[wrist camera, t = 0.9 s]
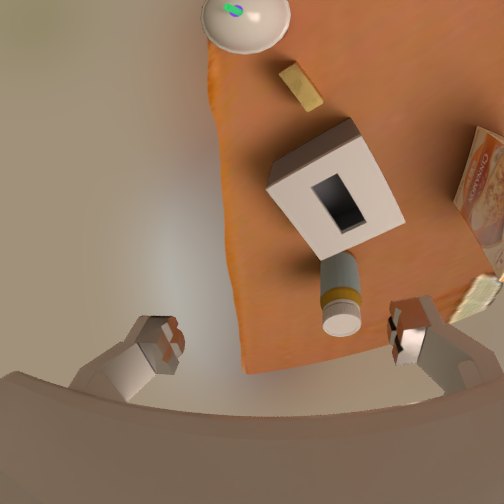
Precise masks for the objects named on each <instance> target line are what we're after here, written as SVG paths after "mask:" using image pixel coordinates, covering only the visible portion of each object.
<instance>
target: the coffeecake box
mask: <svg viewBox="0 0 504 504" xmlns="http://www.w3.org/2000/svg"><path fill="white" fill-rule="evenodd" d="M453 203H454V204H455V206H456V207H457V209H458V210H459V212H460V213H461V215H462V216H463V218H464V219H465V221H466V223H467V224H468V226H469V227H470V229H471V231H472V232H473V234H474V236H475V237H476V239H477V241H478V242H479V244H480V246H481V248H482V250H483V251H484V253H485V255H486V257H487V259H488V261H489V263H490V264H491V266H492V268H493V270H494V272H495V274H496V276H497V278H498V280H499V281H501V282H504V137H502V136H500V135H498V134H495V133H493V132H491V131H489V130H486V129H484V128H482V127H479V126H477V128H476V132H475V136H474V140H473V143H472V147H471V150H470V154H469V157H468V160H467V163H466V167H465V170H464V173H463V176H462V179H461V182H460V185H459V187H458V190H457V193H456V196H455V198H454V201H453Z"/></svg>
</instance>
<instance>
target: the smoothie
mask: <svg viewBox="0 0 504 504" xmlns="http://www.w3.org/2000/svg"><path fill="white" fill-rule="evenodd" d="M290 18H291V12H290V7H289V3H288V1H287V0H206V1H205V3H204V5H203V6H202V12H201V22H202V27H203V31H204V32H205V34H206V35H207V37H208V39H209V40H210V41H211V42H212V43H214V44H215V45H216V46H217V47H219V48H220V49H223V50H225V51H228V52H230V53H235V54H244V55H246V54H253V53H259V52H262V51H264V50H266V49H268V48H270V47H272V46H273V45H275V44H276V43H278V42H279V41H281V40H282V39H283V38H284V37H285V35H286V33H287V31H288V28H289V23H290Z"/></svg>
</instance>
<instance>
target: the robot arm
mask: <svg viewBox="0 0 504 504" xmlns="http://www.w3.org/2000/svg"><path fill="white" fill-rule="evenodd" d="M389 310H390V313H391V316H390V317H389V318H388V324H387V334H388V339H389V343H390V344H391V345H392V346H393V350H392V354H393V358H394V361H395V365H396V366H401V365H407V364H414V363H417V365H418V366H419V367H421V368H422V369H423V370H424V371H425V372H426V373H427V374H428V375H429V376H430V377H431V378H432V379H433V380H434V381H435V382H436V383H437V384H438V385H439V386H440V387H441V388H442V389H443V390H444V391H445V393H444V395H443V396H441V397H437V398H433V399H428V400H424V401H419V402H414V403H409V404H404V405H399V406H393V407H387V408H381V409H374V410H367V411H359V412H351V413H340V414H329V415H316V416H295V417H294V416H293V417H252V416H227V415H214V414H202V413H192V412H183V411H175V410H168V409H160V408H154V407H148V406H142V405H137V404H132V403H127V401H128V400H129V399H130V398H131V397H132V396H134V395H135V394H136V393H137V392H138V391H139V390H140V389H141V388H142V387H143V386H144V385H146V384H147V383H148V382H149V381H150V380H151V379H152V378H153V377H154V376H155V375H156V374H170V375H174V373H175V371H176V369H177V366H178V364H179V361H178V359H177V358H178V357H179V356H181V355H182V354H183V351H184V346H185V340H184V336H183V334H182V332H181V331H180V330H179V329H177V325H178V322H177V320H176V318H175V317H173V316H140V317H139V318H138V319H137V321H136V323H135V324H134V326H133V327H132V329H131V330H130V332H129V334H128V335H127V337H126V339H125V340H124V342H119V343H118V344H116V345H115V346H113V347H112V348H110V349H109V350H107V351H106V352H104V353H103V354H101V355H100V356H98V357H97V358H95V359H94V360H92V361H91V362H89V363H88V364H86V365H84V366H83V367H82V368H80V369H79V371H78V373H77V374H76V376H75V377H74V379H73V381H72V382H71V384H70V386H69V387H68V388H66V387H63V386H60V385H56V384H53V383H50V382H47V381H44V380H41V379H38V378H36V377H33V376H30V375H28V374H25V373H23V372H20V371H14V372H12V373H9V374H7V375H6V376H4V377H2V378H0V504H504V373H503V371H502V369H501V366H500V364H499V362H498V360H497V358H496V356H495V354H494V352H493V351H491V350H490V349H488V348H486V347H485V346H483V345H482V344H480V343H479V342H477V341H476V340H474V339H472V338H471V337H469V336H468V335H466V334H465V333H463V332H461V331H460V330H458V329H457V328H455V327H453V326H452V325H450V324H448V323H446V324H445V323H444V321H443V319H442V317H441V315H440V314H439V312H438V310H437V308H436V306H435V304H434V302H433V300H432V298H431V296H429V295H425V296H419V297H415V298H408V299H401V300H394V301H391V303H390V308H389Z"/></svg>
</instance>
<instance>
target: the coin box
mask: <svg viewBox="0 0 504 504" xmlns="http://www.w3.org/2000/svg"><path fill="white" fill-rule="evenodd" d="M266 191H267V192H268V193H269V195H270V196H271V197H272V198H273V200H274V201H275V202H276V203H277V205H278V206H279V207H280V208H281V210H282V211H283V212H284V214H285V215H286V216H287V217H288V219H289V220H290V221H291V222H292V224H293V225H294V226H295V228H296V229H297V230H298V232H299V233H300V234H301V235H302V237H303V238H304V239H305V241H306V242H307V243H308V245H309V246H310V247H311V249H312V250H313V251H314V253H315V254H316V255H317V257H318V258H319V259H320V261H321V260H324V259H326V258H328V257H330V256H333V255H335V254H337V253H340V252H342V251H344V250H346V249H349V248H351V247H353V246H355V245H357V244H360V243H362V242H364V241H366V240H369V239H371V238H373V237H375V236H377V235H380V234H382V233H384V232H386V231H388V230H390V229H393V228H395V227H397V226H399V225H401V224H403V223H405V220H404V218H403V215H402V213H401V211H400V208H399V206H398V204H397V202H396V200H395V197H394V195H393V193H392V191H391V189H390V187H389V185H388V183H387V181H386V179H385V177H384V175H383V173H382V171H381V169H380V167H379V166H378V164H377V162H376V160H375V158H374V156H373V155H372V153H371V151H370V149H369V147H368V146H367V144H366V142H365V140H364V139H363V137H362V135H361V134H360V132H359V130H358V129H357V127H356V125H355V124H354V122H353V120H352V119H351V118H349V119H348V120H346V121H344V122H342V123H340V124H338V125H337V126H335V127H333V128H331V129H329V130H328V131H326V132H324V133H322V134H321V135H319V136H317V137H315V138H314V139H312V140H310V141H309V142H307V143H305V144H303V145H302V146H300V147H298V148H297V149H295V150H293V151H292V152H290V153H288V154H287V155H285V156H283V157H282V158H280V159H278V160H277V161H275V162H273V164H272V168H271V172H270V175H269V179H268V183H267V186H266Z"/></svg>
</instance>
